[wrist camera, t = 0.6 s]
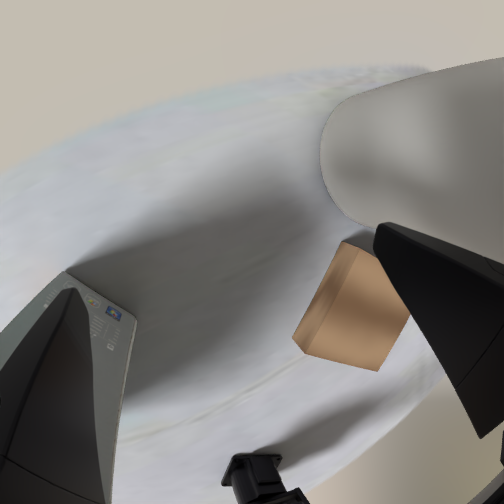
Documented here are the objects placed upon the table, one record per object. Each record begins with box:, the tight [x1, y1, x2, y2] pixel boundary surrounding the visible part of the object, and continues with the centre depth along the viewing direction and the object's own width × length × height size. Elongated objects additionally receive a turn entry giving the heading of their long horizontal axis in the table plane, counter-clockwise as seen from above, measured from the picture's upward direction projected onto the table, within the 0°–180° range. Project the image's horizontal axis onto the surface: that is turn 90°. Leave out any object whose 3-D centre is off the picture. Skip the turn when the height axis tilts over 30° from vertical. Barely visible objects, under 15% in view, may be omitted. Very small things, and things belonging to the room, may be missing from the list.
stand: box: [292, 242, 410, 372], centre depth 28 cm, size 10×10×3 cm
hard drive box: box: [0, 271, 137, 504], centre depth 13 cm, size 16×8×20 cm, turn 143°
